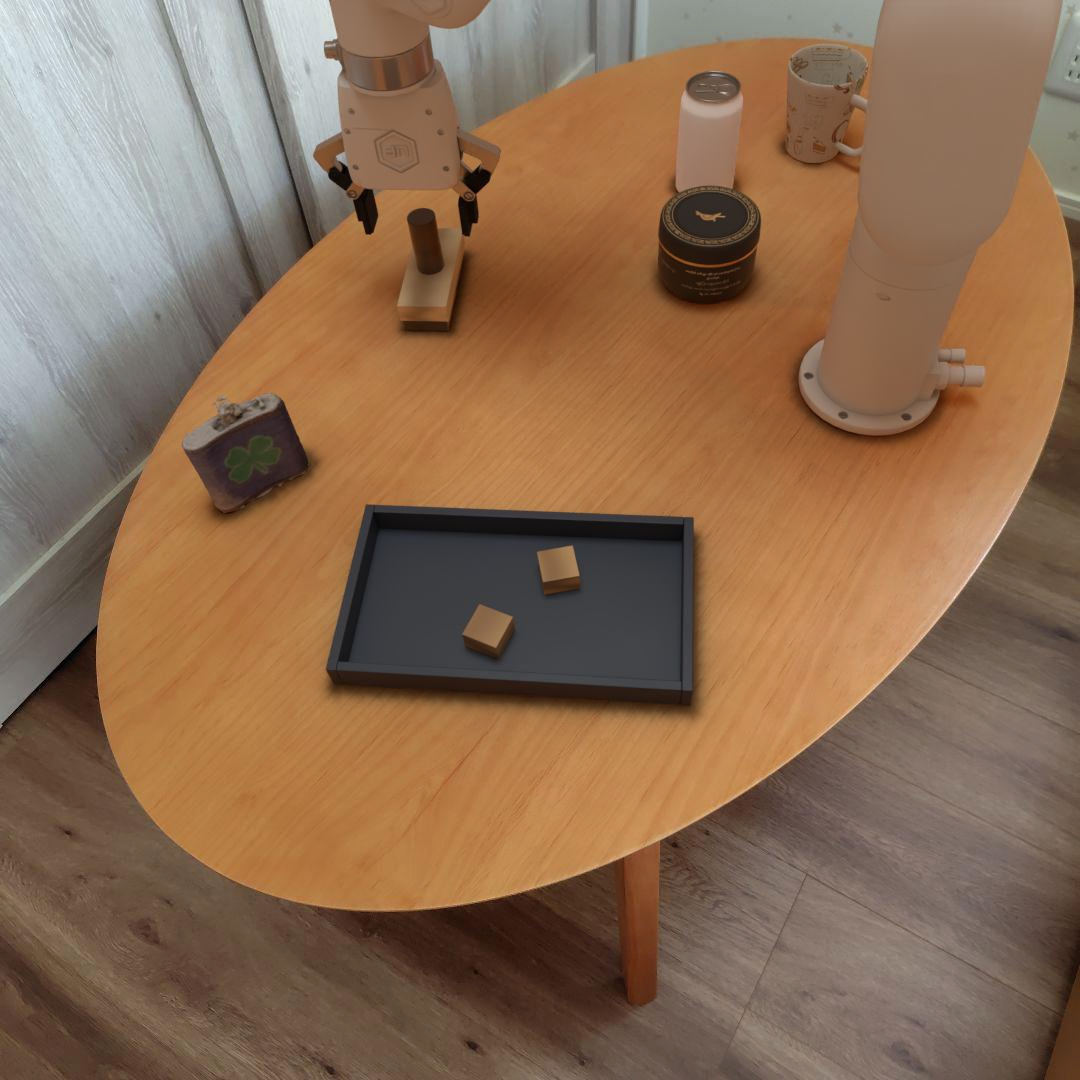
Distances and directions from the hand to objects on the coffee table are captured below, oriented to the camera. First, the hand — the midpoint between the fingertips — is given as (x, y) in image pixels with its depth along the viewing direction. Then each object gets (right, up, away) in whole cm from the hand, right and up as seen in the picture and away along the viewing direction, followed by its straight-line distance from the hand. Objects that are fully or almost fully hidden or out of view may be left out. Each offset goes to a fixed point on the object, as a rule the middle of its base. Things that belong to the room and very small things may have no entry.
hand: (420, 226), depth 93 cm
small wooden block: (+8, -39, -18) cm, 43 cm away
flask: (-13, -26, -6) cm, 30 cm away
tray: (+10, -37, -16) cm, 41 cm away
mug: (+45, +13, +16) cm, 49 cm away
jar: (+29, -4, +6) cm, 30 cm away
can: (+30, +9, +14) cm, 35 cm away
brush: (+1, -5, +7) cm, 8 cm away
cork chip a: (+13, -34, -15) cm, 39 cm away
